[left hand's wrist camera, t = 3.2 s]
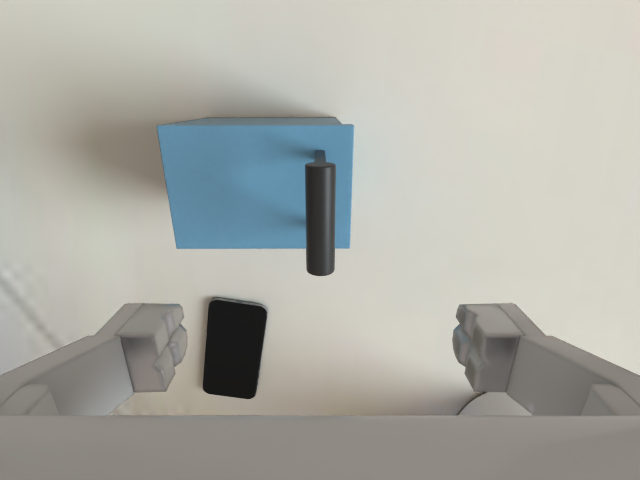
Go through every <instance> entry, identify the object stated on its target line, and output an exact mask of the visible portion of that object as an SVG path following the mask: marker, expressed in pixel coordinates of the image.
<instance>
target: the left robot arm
mask: <svg viewBox="0 0 640 480" xmlns="http://www.w3.org/2000/svg"><path fill="white" fill-rule="evenodd" d="M183 318H184V314H183V309H182V307H181V306H180V304H155V303H146V304H145V303H128V304H124V306H123V307H122V308H121V309H120V310H119V311H118V312H117V313H116V314H115V315H114V316H113V317H112V318H111V319H110V320H109V321H108V322H107V323H106V324H105V325H104V326H103V327H102V328H101V329H100V330H99V331H98V332H97V333H96V334H95V335H94V336H87V337H84V338H82V339H80V340H78V341H76V342H73V343H71V344H69V345H67V346H65V347H62V348H60V349H58V350H56V351H54V352H51V353H49V354H47V355H45V356H42V357H40V358H38V359H36V360H34V361H31V362H29V363H27V364H25V365H23V366H20V367H18V368H16V369H14V370H12V371H9V372H7V373H5V374H3V375H0V480H640V376H639V375H637V374H635V373H633V372H630V371H628V370H626V369H624V368H622V367H619V366H617V365H615V364H613V363H611V362H608V361H606V360H604V359H602V358H600V357H597V356H595V355H593V354H591V353H589V352H586V351H584V350H582V349H580V348H578V347H575V346H573V345H571V344H569V343H567V342H564V341H562V340H560V339H558V338H555V337H553V336H546V335H545V334H544V333H543V332H542V331H541V330H540V329H539V328H538V327H537V326H536V325H535V324H534V323H533V322H532V321H531V320H530V319H529V318H528V317H527V316H526V315H525V314H524V313H523V312H522V311H521V310H520V308H519V307H518V306H517V305H515V304H513V303H497V304H462V305H459V307H458V309H457V314H456V318H457V320H458V321H459V323H460V324H459V325H458V326H457V327H456V328H455V329H454V332H453V350H454V353H455V356H456V358H457V360H458V362H459V363H460V364H462V365H463V366H465V367H466V368H465V375H466V377H467V379H468V381H469V383H470V385H471V386H472V388H473V390H474V392H487V393H485V394H482V395H481V396H479V397H477V398H475V399H474V400H472V401H471V402H470V403H469V404H468V405H467V406H466V407H465V408H464V409H463V410H462V411H461V412H460V414H459V415H458V416H107V415H108V414H109V413H111V412H112V411H113V410H114V409H116V408H117V407H118V406H119V405H121V404H122V403H123V402H124V401H126V400H127V399H128V398H129V397H131V396H132V395H133V394H134V392H166V390H167V388H168V386H169V385H170V383H171V381H172V379H173V377H174V375H175V369H174V367H175V366H177V365H178V364H180V363H181V362H182V360H183V358H184V356H185V353H186V349H187V332H186V329H185V328H184V327H183V326H182V325H181V324H180V323H181V321H182V320H183Z"/></svg>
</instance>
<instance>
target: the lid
mask: <svg viewBox="0 0 640 480" xmlns="http://www.w3.org/2000/svg"><path fill="white" fill-rule="evenodd" d="M157 131H158V137H159V143H160V149H161V155H162V161H163V168H164V174H165V180H166V186H167V192H168V198H169V204H170V211H171V217H172V223H173V229H174V235H175V241H176V247H177V249H261V248H306V264H307V271H308V273H310V274H312V275H315V276H326V275H329V274H331V273H333V271H334V264H335V248H350V228H351V198H352V168H353V137H354V125H352V124H164V125H157Z"/></svg>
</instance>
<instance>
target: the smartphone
mask: <svg viewBox="0 0 640 480" xmlns="http://www.w3.org/2000/svg"><path fill="white" fill-rule="evenodd" d="M267 314H268V310H267V308H266V307H265V306H264V305H262V304H256V303H250V302H243V301H236V300H230V299H223V298H214V299H213V300H212V301H211V302H210V304H209V310H208V324H207V337H206V351H205V364H204V378H203V390H204V391H205V392H206V393H208V394H214V395H221V396H229V397H237V398H244V399H251V398H253V397H254V396H255V395H256V390H257V385H258V378H259V370H260V362H261V356H262V349H263V342H264V335H265V328H266V321H267Z"/></svg>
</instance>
